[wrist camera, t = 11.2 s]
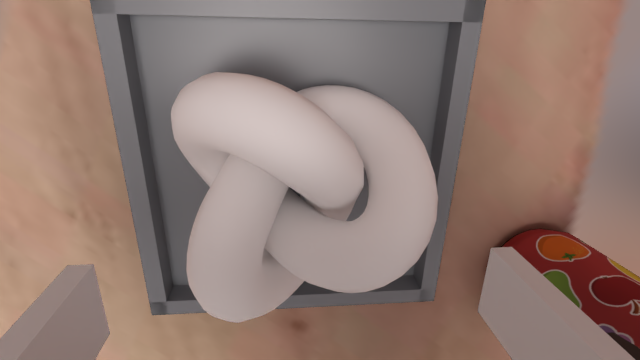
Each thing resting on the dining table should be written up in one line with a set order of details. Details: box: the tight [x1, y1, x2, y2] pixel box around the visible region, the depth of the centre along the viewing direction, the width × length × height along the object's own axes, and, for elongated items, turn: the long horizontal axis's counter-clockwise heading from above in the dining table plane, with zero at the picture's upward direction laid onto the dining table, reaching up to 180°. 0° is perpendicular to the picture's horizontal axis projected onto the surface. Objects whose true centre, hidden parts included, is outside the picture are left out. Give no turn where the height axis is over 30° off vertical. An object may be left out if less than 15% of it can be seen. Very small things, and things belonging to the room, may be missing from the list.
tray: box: [90, 0, 486, 315], centre depth 21 cm, size 18×18×2 cm
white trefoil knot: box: [171, 72, 438, 323], centre depth 18 cm, size 11×12×9 cm
